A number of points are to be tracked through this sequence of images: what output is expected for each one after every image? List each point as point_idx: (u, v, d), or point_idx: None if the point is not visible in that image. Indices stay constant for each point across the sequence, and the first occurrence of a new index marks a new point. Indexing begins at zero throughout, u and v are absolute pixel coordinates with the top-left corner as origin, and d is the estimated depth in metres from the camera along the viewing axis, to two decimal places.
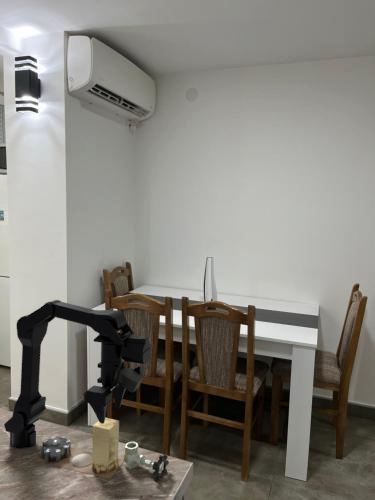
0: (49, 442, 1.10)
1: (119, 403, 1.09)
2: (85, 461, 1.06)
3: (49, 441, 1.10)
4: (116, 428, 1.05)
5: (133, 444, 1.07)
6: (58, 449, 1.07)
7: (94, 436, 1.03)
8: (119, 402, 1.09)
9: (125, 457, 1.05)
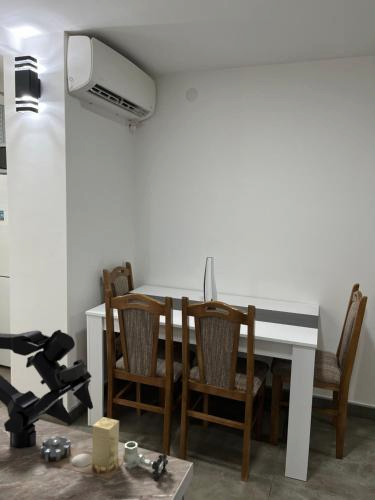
0: (49, 442, 1.10)
1: (89, 404, 1.11)
2: (85, 461, 1.06)
3: (49, 441, 1.10)
4: (116, 428, 1.05)
5: (132, 444, 1.07)
6: (58, 449, 1.07)
7: (94, 436, 1.03)
8: (89, 403, 1.11)
9: (125, 457, 1.05)
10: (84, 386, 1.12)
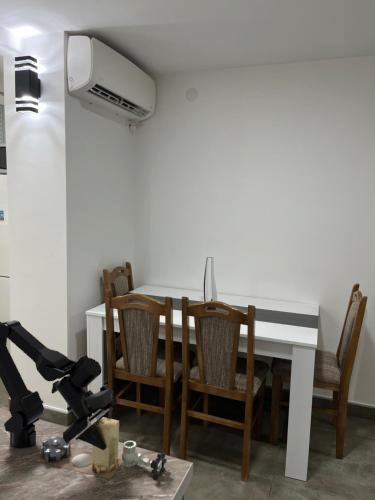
0: (49, 442, 1.10)
1: None
2: (85, 461, 1.06)
3: (49, 441, 1.10)
4: (116, 428, 1.05)
5: (131, 443, 1.08)
6: (58, 449, 1.07)
7: None
8: None
9: (123, 456, 1.05)
10: (107, 415, 1.08)
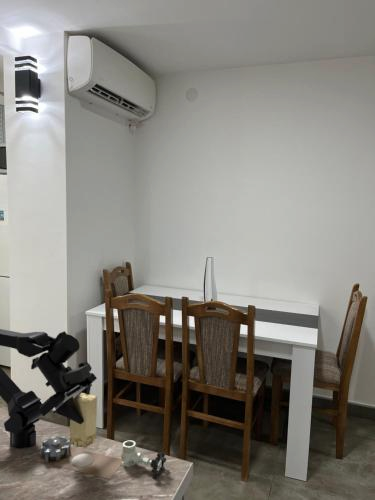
0: (49, 442, 1.10)
1: None
2: (85, 461, 1.06)
3: (49, 441, 1.10)
4: (94, 403, 1.06)
5: (130, 442, 1.08)
6: (58, 449, 1.07)
7: None
8: None
9: (123, 456, 1.05)
10: (85, 391, 1.09)
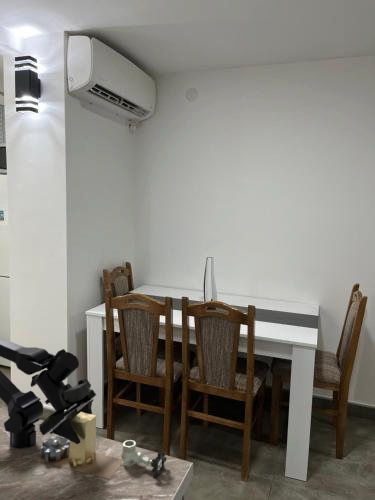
0: (49, 442, 1.10)
1: None
2: None
3: (49, 441, 1.10)
4: (93, 422, 1.06)
5: (130, 442, 1.08)
6: (58, 449, 1.07)
7: None
8: None
9: (123, 455, 1.05)
10: (87, 406, 1.11)
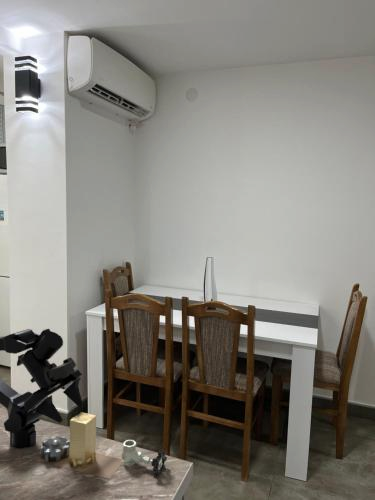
0: (49, 442, 1.10)
1: (79, 402, 1.12)
2: None
3: (49, 441, 1.10)
4: (93, 422, 1.06)
5: (131, 442, 1.08)
6: (58, 449, 1.07)
7: (71, 430, 1.05)
8: (79, 401, 1.12)
9: (123, 455, 1.06)
10: (74, 384, 1.13)
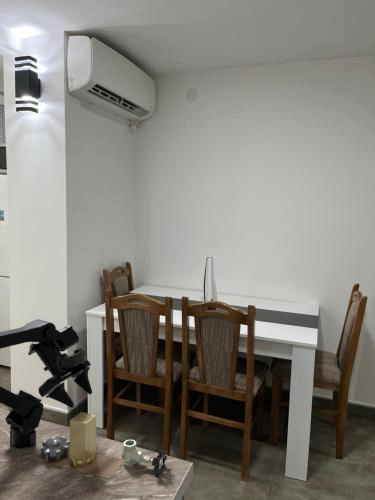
0: (49, 442, 1.10)
1: (89, 389, 1.20)
2: None
3: (49, 441, 1.10)
4: (93, 422, 1.06)
5: (131, 442, 1.08)
6: (58, 449, 1.07)
7: (71, 430, 1.05)
8: (88, 388, 1.20)
9: (124, 455, 1.06)
10: (84, 373, 1.21)
